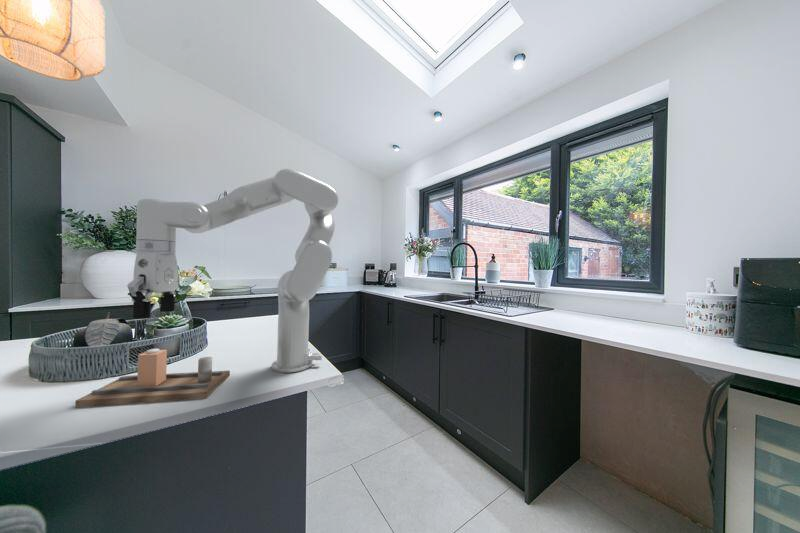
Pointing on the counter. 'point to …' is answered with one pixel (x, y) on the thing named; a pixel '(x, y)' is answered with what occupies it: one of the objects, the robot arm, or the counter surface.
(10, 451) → the counter surface
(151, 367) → the block
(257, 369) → the counter surface
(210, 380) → the board
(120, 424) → the counter surface
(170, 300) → the robot arm
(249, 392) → the counter surface
